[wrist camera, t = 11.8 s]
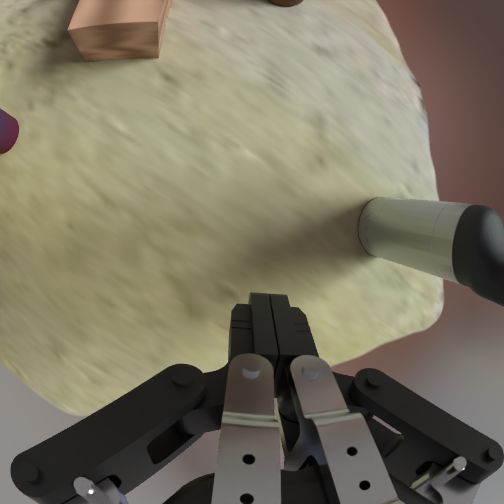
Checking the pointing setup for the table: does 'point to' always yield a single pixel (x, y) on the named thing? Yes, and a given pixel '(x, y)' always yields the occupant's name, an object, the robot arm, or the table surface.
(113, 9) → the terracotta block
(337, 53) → the table surface
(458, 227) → the robot arm
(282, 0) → the mug
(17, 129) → the cup
